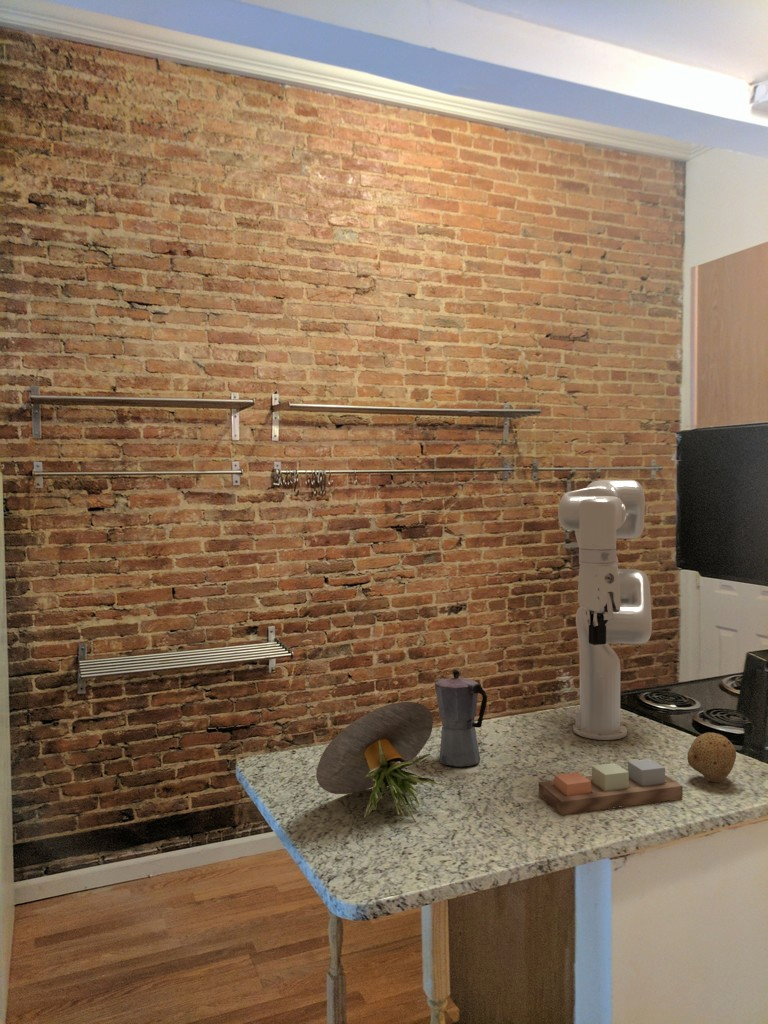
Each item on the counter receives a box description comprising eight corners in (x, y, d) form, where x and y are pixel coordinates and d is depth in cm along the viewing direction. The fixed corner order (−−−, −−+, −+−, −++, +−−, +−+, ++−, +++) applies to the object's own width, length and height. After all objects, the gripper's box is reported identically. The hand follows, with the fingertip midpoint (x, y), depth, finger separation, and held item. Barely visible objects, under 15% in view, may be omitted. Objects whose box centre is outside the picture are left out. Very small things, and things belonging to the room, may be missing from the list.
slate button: (642, 790, 152) (642, 770, 152) (627, 781, 157) (627, 761, 157) (664, 787, 153) (665, 767, 153) (649, 778, 158) (649, 758, 158)
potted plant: (316, 866, 141) (373, 793, 128) (291, 778, 153) (340, 702, 139) (429, 847, 155) (491, 779, 141) (398, 767, 166) (453, 697, 153)
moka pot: (449, 747, 182) (448, 661, 181) (503, 764, 171) (502, 673, 170) (421, 758, 175) (420, 669, 174) (475, 776, 164) (474, 681, 163)
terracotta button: (567, 805, 148) (567, 784, 148) (554, 795, 153) (554, 774, 152) (591, 802, 149) (591, 781, 149) (578, 792, 154) (578, 772, 154)
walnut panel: (561, 814, 145) (561, 801, 145) (538, 794, 154) (538, 782, 154) (682, 798, 152) (682, 785, 152) (653, 780, 161) (653, 768, 161)
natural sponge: (687, 786, 157) (687, 737, 157) (686, 770, 166) (687, 724, 165) (737, 792, 154) (737, 742, 154) (734, 776, 163) (734, 728, 162)
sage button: (605, 795, 150) (605, 774, 150) (591, 785, 155) (591, 765, 155) (628, 792, 151) (628, 772, 151) (614, 782, 156) (614, 763, 156)
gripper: (633, 560, 159) (633, 650, 160) (595, 553, 173) (595, 635, 174) (600, 561, 157) (600, 652, 158) (564, 554, 171) (564, 637, 172)
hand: (597, 643), depth 166 cm, fingers closed
